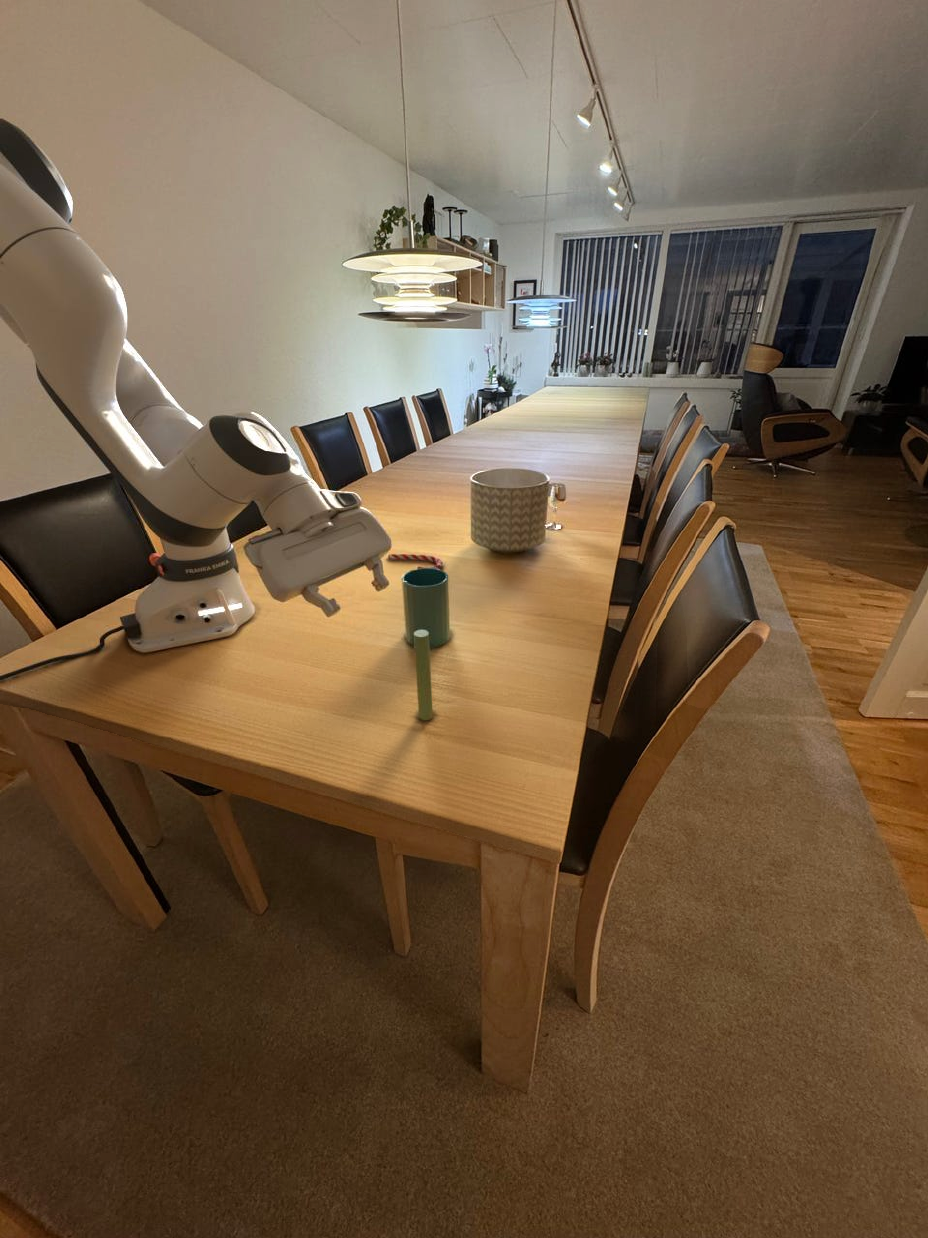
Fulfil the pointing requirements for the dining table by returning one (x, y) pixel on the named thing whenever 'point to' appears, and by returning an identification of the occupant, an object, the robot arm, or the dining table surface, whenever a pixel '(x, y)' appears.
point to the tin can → (426, 604)
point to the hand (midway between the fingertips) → (360, 600)
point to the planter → (509, 509)
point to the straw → (423, 674)
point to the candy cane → (418, 557)
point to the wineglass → (556, 500)
